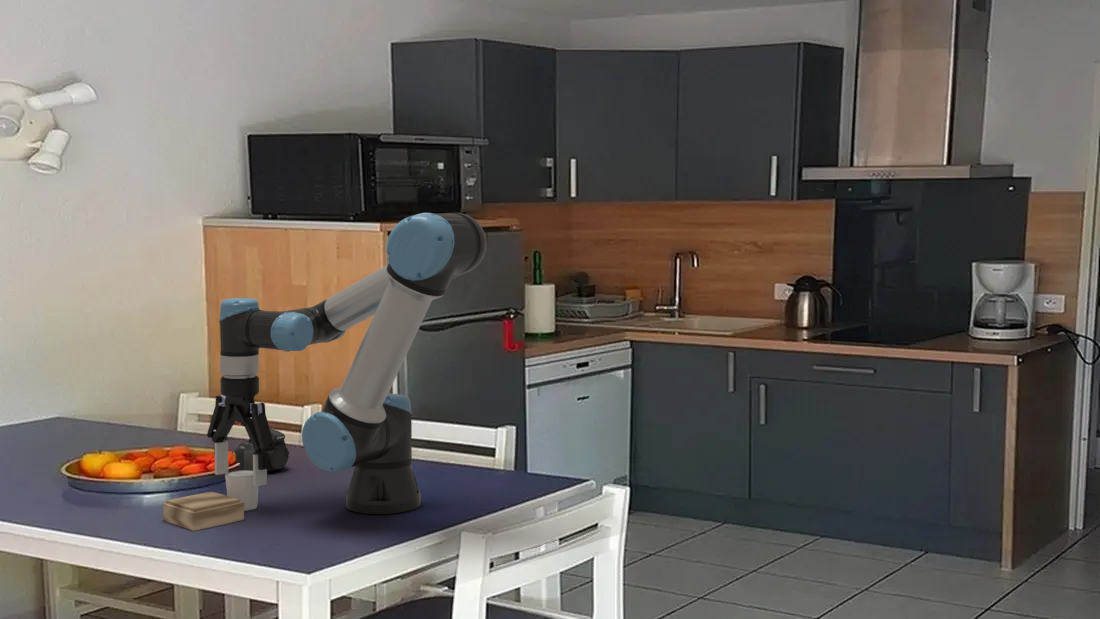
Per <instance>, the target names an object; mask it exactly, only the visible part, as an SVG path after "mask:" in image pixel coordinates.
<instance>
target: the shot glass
mask: <svg viewBox="0 0 1100 619" xmlns="http://www.w3.org/2000/svg"><path fill="white" fill-rule="evenodd" d="M224 478H225V486H226V493H227V494H226V496H229V497H233V498H236V499H240V502H243V503H244V512H245V511H250V510H255V509H256V508H258V499H259V487H260V486H256V487H255V486H253V471H251V470H241V471H237V470H234V471H230V472H229V471H228V473H225V474H224Z"/></svg>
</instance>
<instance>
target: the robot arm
mask: <svg viewBox="0 0 1100 619" xmlns="http://www.w3.org/2000/svg"><path fill="white" fill-rule="evenodd" d="M385 248H386V253H387V255H388V256H387V261H388V262H387V264H386V265H384V266H382V267H381V268H380V269H377V270H376V271H374V272H372V273H370V274H368V275H367V276H365V277H363V278H362V279H360V280H358V281H356V282H354V283H353V284H351V285H349V286H347V287H345V288H344V289H342V290H340V291H339V292H336V293H334V294H333V295H331V296H329V297H328V298H326V299H324V300H323V301H320V302H319V303H317V304H315V305H313V306H309V307H304V308H298V309H297V308H296V309H289V310H281V311H280V310H279V311H274V310H262V309H260V306H259V301H258V299H256V298H249V297H248V298H247V297H234V298H233V297H231V298H225V299H223V300H222V301H221V303H220V309H219V310H220V311H219V319H218V321H219V322H218V323H219V335H220V336H219V338H220V350H219V352H220V353H219V373H220V375H222V376H221V378H220V394H221V395H216V396H215V403H214V405H215V406H214V409H213V412H212V416H211V419H210V424H209V426H208V430H207V433H206V437H207V438H208V439H209V438H210V439H211V440H212V442H213V453H214V475H217V476H218V475H225V474H227V473H229V442H228V439H229V438H228V436H229V434H230V432H231V430H232V428H233V426H234V425H235V423H236V422H237V423H240V424H241V426H242V427H244V428H245V431H246V433H247V435H248V438H249V439H250V440H251V442H252V445H253V447H254V449H255V452H254V453H253V486H255V487H256V486H259V487H260V486H265V485H266V486H267V485H268V472H267V467H268V452H270V451H274V450H275V446H274V442H273V439H272V435H271V432H270V428H271V427H270V425H269V422H268V418H267V415H266V404H265V403H264V402H257V403H256V402H255V397H256V396H257V395H258V394H259V392H260V378H259V376H258V374H259V371H260V370H259V368H260V366H259V362H260V361H259V354H260V353H259V352H260V349H266V350H267V349H268V350H277V351H284V352H287V353H288V352H301V351H304V350H305V349H307V347H308V346H310V345H316V344H321V343H323V344H324V343H331V342H333V341H335V340H338V339H340V338H342V337H343V336H344V334H345V333H346V331H347V330H349V329H350V328H353V327H355V326H357V325H359V324H360V323H363V322H364V321H366V320H367V319H370V318H371V317H372V319H371V321H370V323H369V325H368V328H367V331H366V333H365V335H364V336H363V339H362V340H361V343H360V345H359V347H358V349H357V352H356V354H355V356H354V359H353V360H352V363H351V365H350V367H349V370H348V372H347V374H346V376H345V378H344V381H343V382H342V384H341V386H340V387H336V388H333V389H332V390H331V391H330V392H329V394H328V397H327V398H326V401H325V403H324V405H323V408H321V409H322V410H321V411H319V412H315V413H313V414H312V415H310V416H309V417H308V418H307V419H306V420H305V422H304V424H303V427H302V429H301V430H302V431H301V441H302V445H303V448H304V449H305V453H306V455H307V457H308V459H309V460H310V461H311V462H312V464H313V465H315V466H316V467H317V468H319V469H321V470H323V471H325V472H339V471H346V470H349V469H351V468H353V472H352V475H351V478H350V482H349V487H348V490H347V493H346V495H345V507H346V509H347V510H349V511H352V512H354V513H358V514H367V515H389V514H390V515H391V514H397V513H398V514H399V513H404V512H405V513H406V512H409V511H412V510H415V509H417V508H419V507H420V506H421V505H422V495H421V494H422V493H421V490H420V489H419V486H418V485H419V484H418V481H417V479H416V476H415V472H414V469H413V464H412V463H413V461H412V458H413V456H412V454H413V451H412V450H413V448H412V447H413V446H412V444H413V443H412V442H413V439H412V437H413V434H412V424H413V423H412V421H413V420H412V416H413V412H412V404H411V403H412V402H411V400H410V398H409V397H408V396H407V395H405V394H399V393H389V392H390V391H391V388H392V386H393V384H394V383H395V380H396V378H397V376H398V373H399V371H400V369H401V367H402V365H403V363H404V361H405V359H406V358H407V357H406V356H407V354H408V352H409V350H410V348H411V346H412V344H413V342H414V340H415V338H416V335H417V333H418V331H419V329H420V327H421V324H422V323H423V320H424V318H425V317H426V314H427V312H428V310H429V308H430V307H431V306H430V305H431V303H432V301H434V300H436V299H440V298H442V297H444V295H445V292H446V291H447V289H448V287H449V285H450V283H451V281H452V280H453V279H455V278H458V277H460V276H461V275H464V274H467V273H469V272H472V270H474V269H475V268H477V267H478V266H479V265H480V264H481V262H482V261H483V260H484V257H485V255H486V251H487V236H486V233H485V231H484V229H483V227H482V226H481V224H480V222H478V220H476V219H475V218H473V217H472V216H470V215H468V214H465V213H462V212H461V213H460V212H445V213H435V212H434V213H432V212H422V213H421V212H420V213H417V214H414V215H411V216H410V215H409V216H408V217H405V218H403V219H402V220H400V221H399V222H398V223H397V224H396V225H395V226H394V227H393V228H392V230H391V232H390V233H389V236H388V238H387V243H386V247H385Z"/></svg>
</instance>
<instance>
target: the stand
mask: <svg viewBox="0 0 1100 619" xmlns="http://www.w3.org/2000/svg"><path fill="white" fill-rule="evenodd" d="M244 520H245V511H244V503H243V502H240V499H236V498H233V497H229V496H227V494H222V493H218V492H216V491H215V492H214V491H206V492H202V493H196V494H192V495H187V496H182V497H175V498H172V499H166V502H163V503H162V521H163V522H166V523H169V524H172V525H176V526H178V527H182V528H184V529H186V530H187V529H188V530H190V531H193V532H194V531H199V530H200V531H201V530H204V529H208V528H213V527H217V526H223V525H227V524H231V523H235V522H239V521H244Z"/></svg>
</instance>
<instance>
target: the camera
mask: <svg viewBox="0 0 1100 619" xmlns="http://www.w3.org/2000/svg"><path fill="white" fill-rule="evenodd" d="M269 428H270V432H271V435H272V439H273V442H274V446H275V450H274V451H270V452H268V467H267V473H270V472H274V471H278V470H281V469H283V468H284V467H285V466H286V465H287V463H288V461H289V457H290V456H289V455H290V450H289V449H288V447H287V445H286V442H285V438H286V435H285V433H283V432H282V431H279V430H277V429H274V428H272V427H269ZM254 452H255V449H254V447H253V445H252V442H251V440H250V438H249V439H248V440H247V441H244V442H242V443H240V444H238V445H237V447H236V448H235V450H234V455H235V463H236V462H238V463H240V466H239V467H238V469H237V468H236V471H241V470H251V471H253V453H254Z"/></svg>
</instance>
